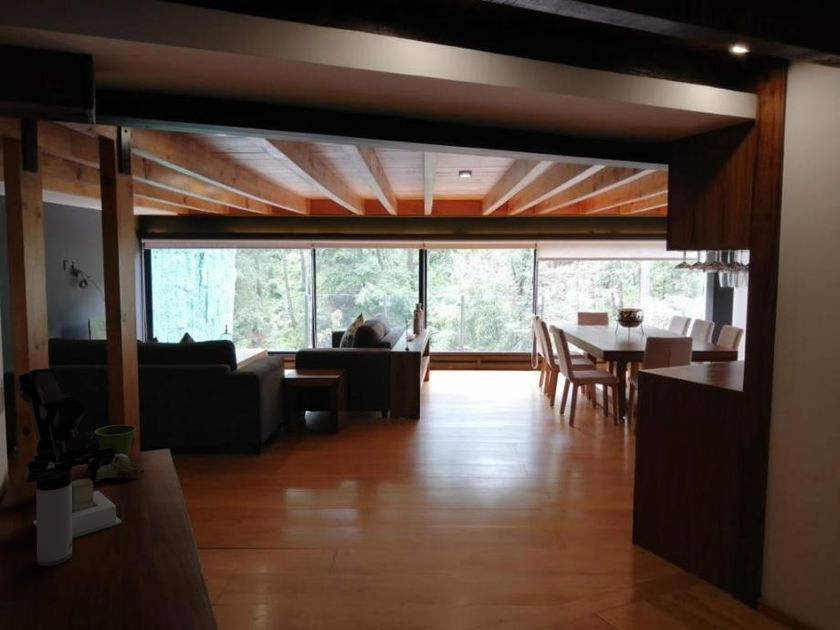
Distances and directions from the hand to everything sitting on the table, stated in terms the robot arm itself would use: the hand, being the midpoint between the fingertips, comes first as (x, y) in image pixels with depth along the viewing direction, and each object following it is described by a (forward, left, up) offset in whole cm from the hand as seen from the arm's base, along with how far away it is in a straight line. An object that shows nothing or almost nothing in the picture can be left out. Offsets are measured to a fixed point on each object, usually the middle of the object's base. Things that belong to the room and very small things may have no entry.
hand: (79, 493), depth 126 cm
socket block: (-1, 0, -8) cm, 8 cm away
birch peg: (-1, +1, -8) cm, 8 cm away
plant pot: (-43, +13, -8) cm, 46 cm away
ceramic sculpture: (-30, +11, -8) cm, 33 cm away
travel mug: (+15, -5, -8) cm, 18 cm away
